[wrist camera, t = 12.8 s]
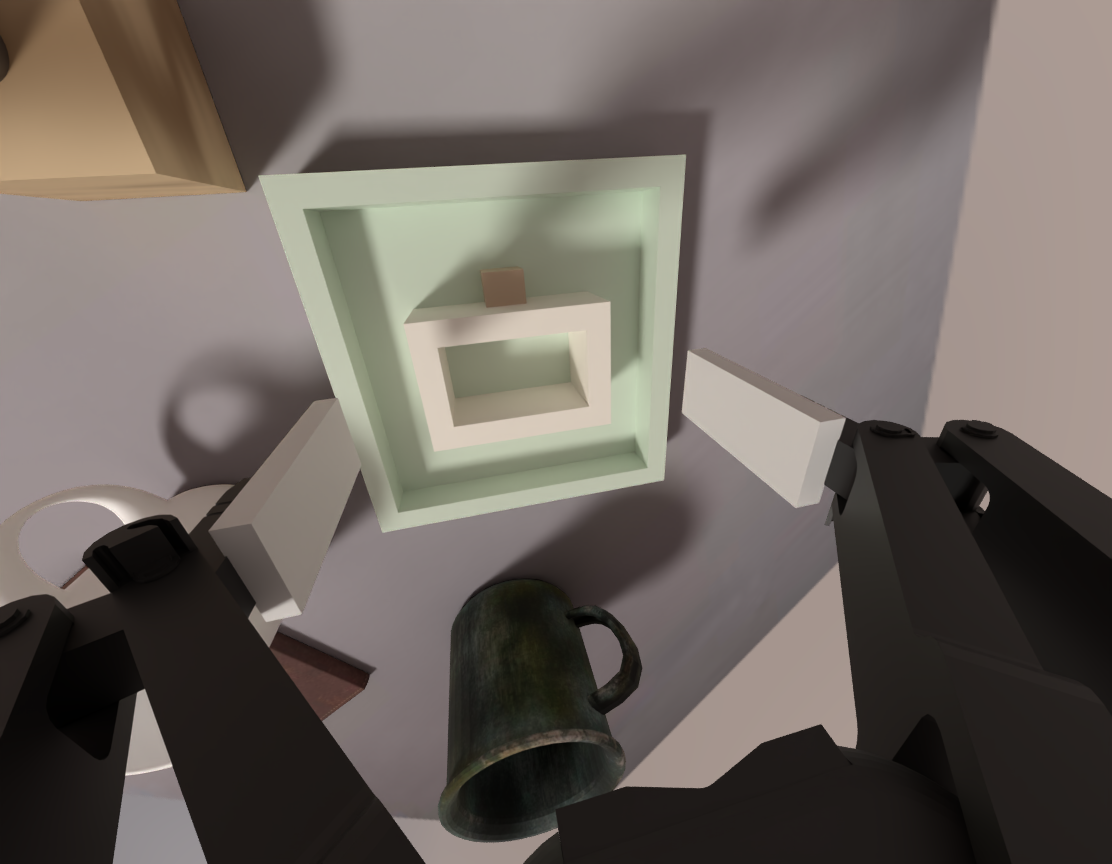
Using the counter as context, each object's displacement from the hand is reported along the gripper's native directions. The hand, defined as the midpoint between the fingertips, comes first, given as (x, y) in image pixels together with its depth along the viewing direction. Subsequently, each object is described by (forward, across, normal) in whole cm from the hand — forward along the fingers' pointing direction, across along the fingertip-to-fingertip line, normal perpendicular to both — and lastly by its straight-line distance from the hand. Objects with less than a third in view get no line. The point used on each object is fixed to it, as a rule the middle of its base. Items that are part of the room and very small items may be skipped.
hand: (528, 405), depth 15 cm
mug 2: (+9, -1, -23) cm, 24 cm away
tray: (+9, 0, -1) cm, 9 cm away
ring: (+8, 0, -1) cm, 9 cm away
